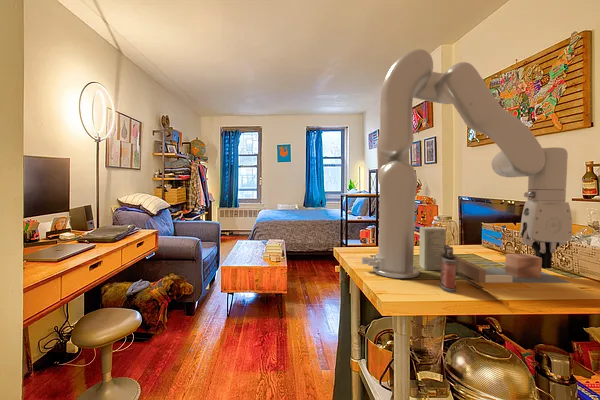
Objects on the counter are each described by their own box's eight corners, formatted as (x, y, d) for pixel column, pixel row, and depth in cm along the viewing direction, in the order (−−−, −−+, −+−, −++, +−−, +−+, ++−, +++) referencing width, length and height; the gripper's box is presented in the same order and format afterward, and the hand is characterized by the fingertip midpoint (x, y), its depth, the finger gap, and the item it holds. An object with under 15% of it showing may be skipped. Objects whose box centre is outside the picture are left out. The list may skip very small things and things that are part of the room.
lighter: (458, 293, 69) (460, 250, 68) (442, 292, 70) (443, 249, 69) (452, 282, 76) (453, 243, 76) (437, 281, 77) (438, 242, 77)
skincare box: (438, 266, 91) (439, 226, 90) (445, 270, 87) (447, 228, 86) (418, 266, 91) (419, 226, 90) (424, 270, 87) (425, 228, 86)
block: (517, 277, 75) (518, 258, 75) (505, 272, 80) (505, 253, 79) (541, 277, 75) (542, 258, 75) (527, 272, 80) (528, 253, 79)
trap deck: (478, 288, 72) (479, 270, 72) (443, 267, 90) (443, 252, 90) (570, 288, 72) (571, 270, 71) (516, 267, 90) (517, 252, 89)
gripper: (527, 197, 73) (524, 271, 74) (589, 197, 72) (585, 271, 74) (506, 196, 80) (504, 263, 81) (562, 195, 80) (559, 263, 81)
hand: (542, 267), depth 77 cm, fingers closed
